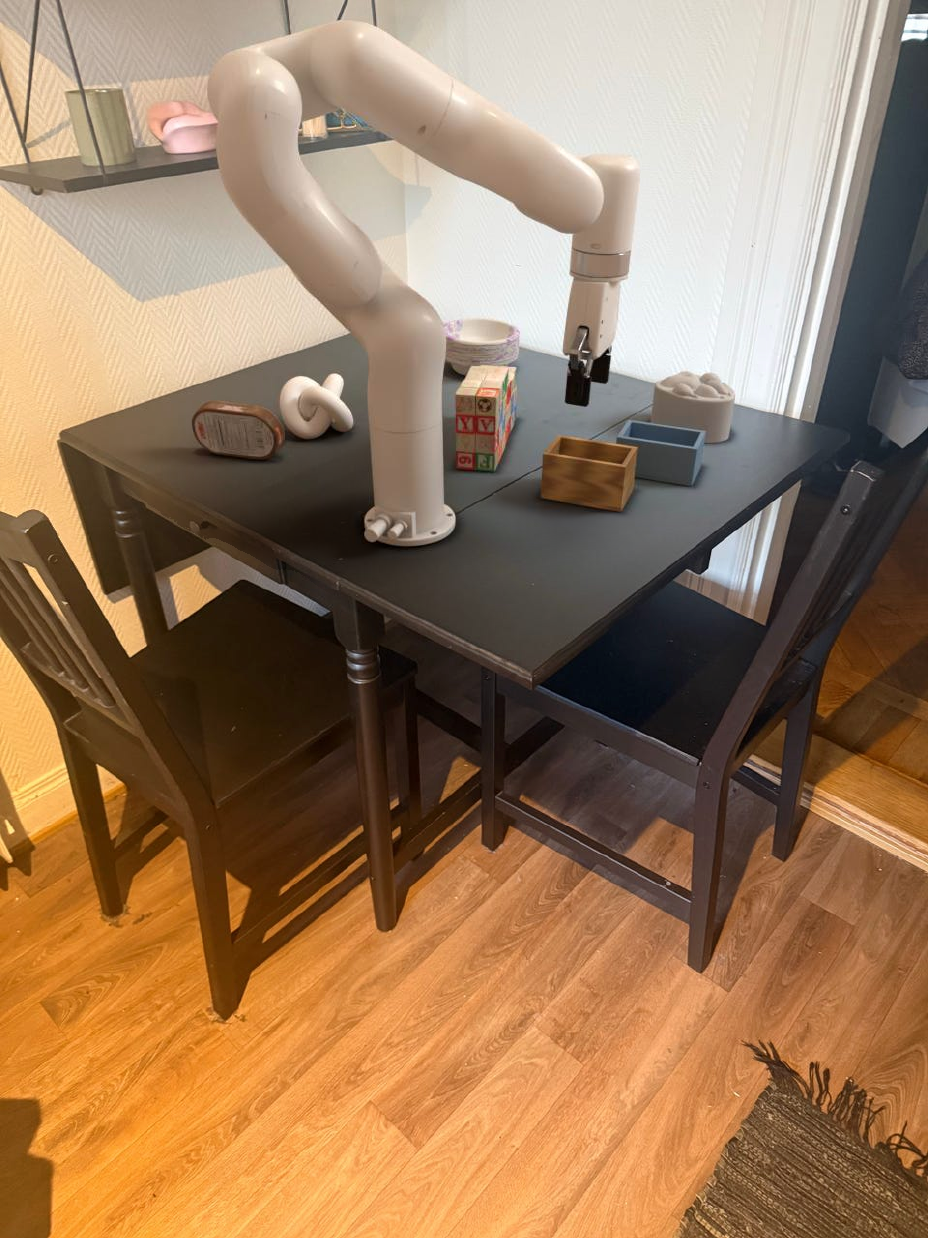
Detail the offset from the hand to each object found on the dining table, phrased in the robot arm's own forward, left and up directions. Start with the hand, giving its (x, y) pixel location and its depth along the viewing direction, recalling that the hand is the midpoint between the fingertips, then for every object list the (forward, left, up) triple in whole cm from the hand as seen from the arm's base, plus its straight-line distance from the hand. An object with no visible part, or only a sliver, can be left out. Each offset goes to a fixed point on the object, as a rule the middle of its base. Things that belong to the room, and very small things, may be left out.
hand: (586, 392), depth 127 cm
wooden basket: (0, -1, -16) cm, 16 cm away
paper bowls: (+44, +33, -16) cm, 57 cm away
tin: (-7, +54, -16) cm, 57 cm away
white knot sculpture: (+7, +47, -16) cm, 50 cm away
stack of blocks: (+12, +19, -16) cm, 28 cm away
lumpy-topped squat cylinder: (+30, -11, -16) cm, 36 cm away
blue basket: (+12, -9, -16) cm, 22 cm away
